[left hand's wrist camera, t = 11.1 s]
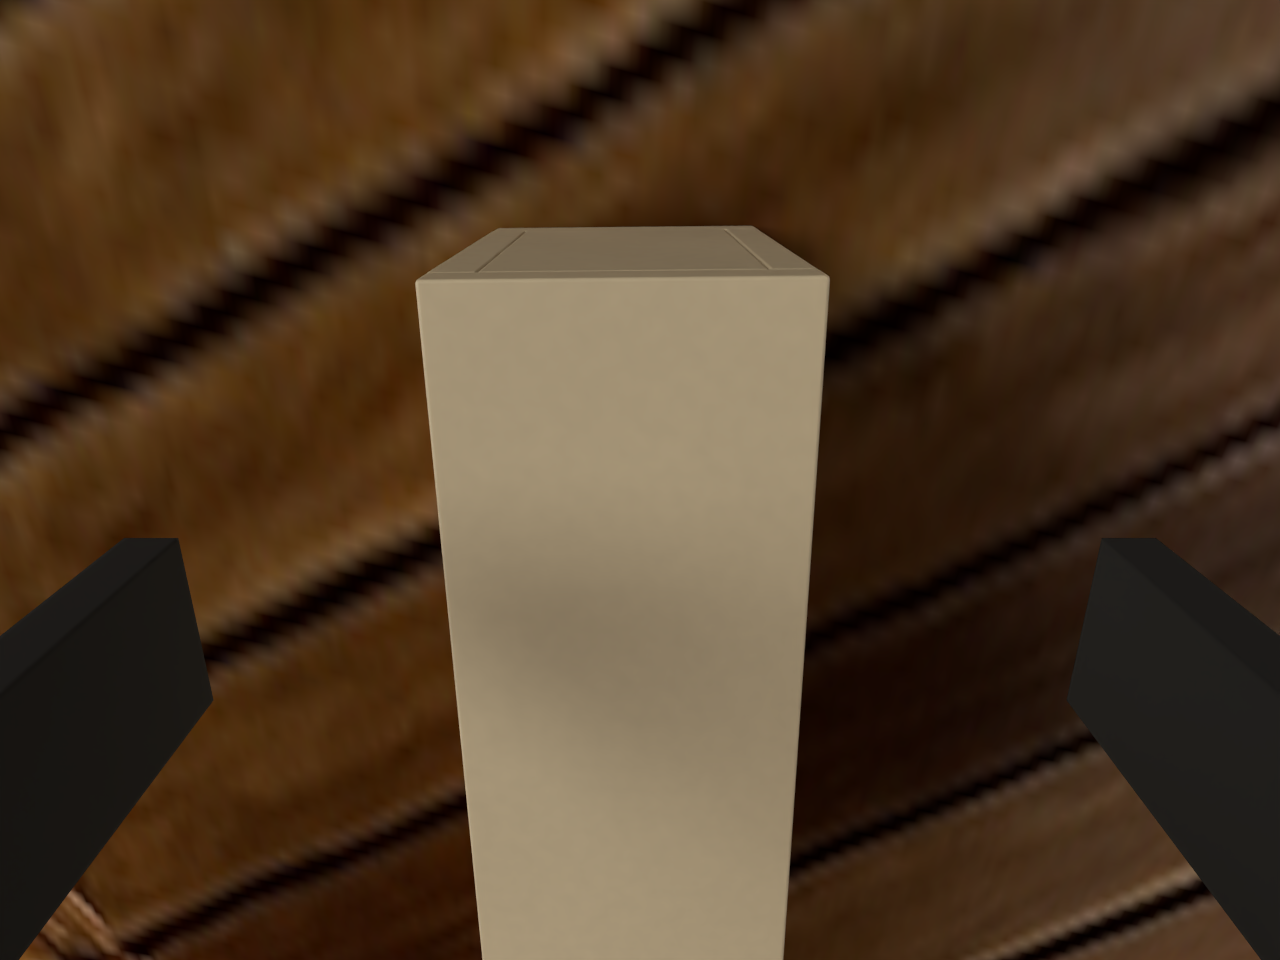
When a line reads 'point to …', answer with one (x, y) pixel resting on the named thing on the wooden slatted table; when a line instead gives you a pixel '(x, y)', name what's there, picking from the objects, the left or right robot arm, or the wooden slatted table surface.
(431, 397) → the cabinet
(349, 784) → the wooden slatted table surface
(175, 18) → the wooden slatted table surface
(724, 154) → the wooden slatted table surface
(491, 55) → the wooden slatted table surface
